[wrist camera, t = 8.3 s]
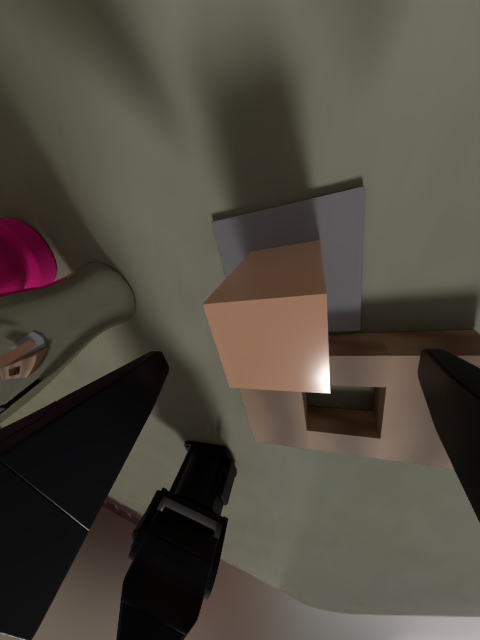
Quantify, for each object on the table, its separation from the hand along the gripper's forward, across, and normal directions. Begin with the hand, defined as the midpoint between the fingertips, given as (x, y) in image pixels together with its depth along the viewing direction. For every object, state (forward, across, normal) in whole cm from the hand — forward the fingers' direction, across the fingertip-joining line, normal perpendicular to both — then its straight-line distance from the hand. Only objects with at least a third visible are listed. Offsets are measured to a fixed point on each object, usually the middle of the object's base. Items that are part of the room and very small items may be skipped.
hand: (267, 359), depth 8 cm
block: (+9, 0, 0) cm, 9 cm away
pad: (+9, 0, 0) cm, 9 cm away
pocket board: (+9, -3, +11) cm, 14 cm away
